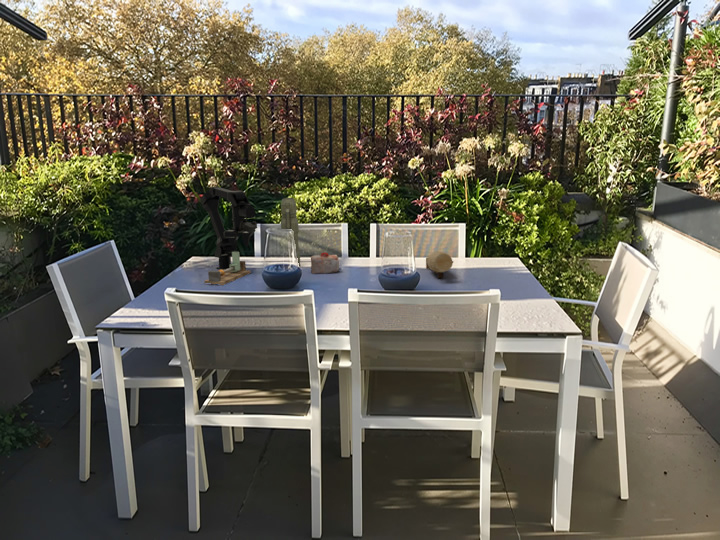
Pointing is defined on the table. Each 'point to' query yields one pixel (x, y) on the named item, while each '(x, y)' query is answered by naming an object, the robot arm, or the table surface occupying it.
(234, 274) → the linear slide rail
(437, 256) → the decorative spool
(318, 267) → the food item
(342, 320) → the table surface
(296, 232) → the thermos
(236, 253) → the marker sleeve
